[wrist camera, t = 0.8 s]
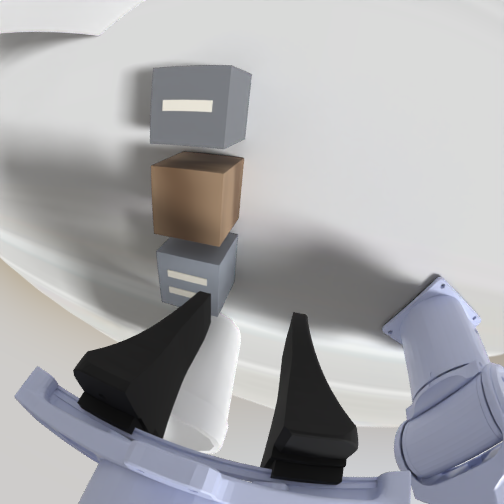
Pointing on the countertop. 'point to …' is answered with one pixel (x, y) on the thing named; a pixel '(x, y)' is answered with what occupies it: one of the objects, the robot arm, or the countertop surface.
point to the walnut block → (196, 196)
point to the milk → (63, 15)
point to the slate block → (196, 270)
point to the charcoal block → (199, 105)
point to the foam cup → (207, 390)
